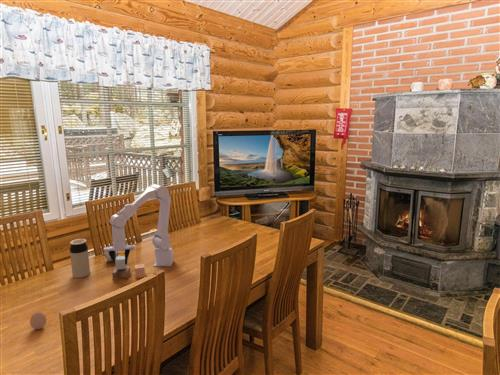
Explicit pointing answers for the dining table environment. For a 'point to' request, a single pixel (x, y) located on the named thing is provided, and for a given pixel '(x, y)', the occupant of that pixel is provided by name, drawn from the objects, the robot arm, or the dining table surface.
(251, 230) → the dining table surface
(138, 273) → the terracotta block
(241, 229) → the dining table surface
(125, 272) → the walnut base
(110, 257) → the pale grey round lump
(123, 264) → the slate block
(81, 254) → the travel mug
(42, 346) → the dining table surface
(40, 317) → the egg
